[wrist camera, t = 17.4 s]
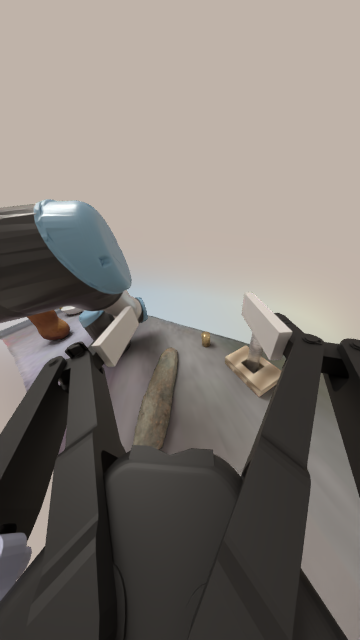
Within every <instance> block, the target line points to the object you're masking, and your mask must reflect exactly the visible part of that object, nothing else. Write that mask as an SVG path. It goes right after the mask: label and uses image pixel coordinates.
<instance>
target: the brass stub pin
mask: <svg viewBox="0 0 360 640" xmlns="http://www.w3.org/2000/svg"><path fill="white" fill-rule="evenodd" d="M201 335H202V345H203V346H204V347H209V346H210V333H209V332H203V333H202V334H201Z"/></svg>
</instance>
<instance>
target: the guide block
mask: <svg viewBox="0 0 360 640" xmlns="http://www.w3.org/2000/svg"><path fill="white" fill-rule="evenodd" d="M248 353H249V347H247V346H244V347H242V348H240V349H239V350H237V351H235V352H233V353H231V354H230V355H228V356H226V357H225V364H226V365H227V366H228V367H229V368H230V369H231V370H232V371H233V372H234V373H235V374H236V375H237V376H238V377H239V378H240V379H241V380H242V381H243V382H244V383H245V384H246V385H247V386H248V387H249V388H250V389H251V390H252V391H253V392H254V393H255V394H256V395H257V396H258V397H260V396H261V395H263V394H264V393H265V392H267V391H268V390H269V389H271V388H272V387H273V386H275V385H276V384H277V382H278V379H279V377H280V374H281V370H279V369H278V368H277V367H275V366H274V365H272V364H271V363H270V362H268V361H267V360H265V359H264V358H263V357H261V360H260V364H259V367H258V370H259V371H257V372H256V373H254V374H253V373H252V372H251V371H250V370H248V369H247V368H246V367H245V365H246V363H247V358H248Z"/></svg>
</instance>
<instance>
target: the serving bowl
mask: <svg viewBox="0 0 360 640" xmlns="http://www.w3.org/2000/svg"><path fill="white" fill-rule="evenodd" d="M61 310H62V311H63V312H64V313H66V314H76V313H80V312H82V311H84V310H81V309H78V308H75V307H72V306H66V307H63V308H62V309H61Z"/></svg>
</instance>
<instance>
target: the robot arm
mask: <svg viewBox="0 0 360 640" xmlns="http://www.w3.org/2000/svg"><path fill="white" fill-rule="evenodd" d="M130 286H131V275H130V272H129V268H128V265H127V263H126V260H125V258H124V256H123V253H122V251H121V249H120V247H119V246H118V243H117V241H116V239H115V237H114V235H113V233H112V231H111V230H110V228H109V226H108V225H107V223H106V222H105V220H104V219H103V217H102V216H101V215H100V214H99V213H98V211H97V210H95V209H94V208H93V207H92V206H90V205H89V204H87V203H84V202H80V201H54V200H43V201H41V202H38V203H36V204H30V205H21V206H13V207H3V208H0V323H3V322H7V321H11V320H15V319H20V318H24V317H27V316H32V315H35V314H39V313H43V312H47V311H51V310H55V309H58V308H62V307H66V306H72V307H75V308H78V309H81V310H85V311H84V312H82V313H81V315H80V316H79V321H80V322H81V324H82V326H83V328H85V330H86V331H87V332H88V334H89V335H90V336H91V338H92V339H93V340H94V341H93V343H92V344H91V345H90V346H89V347H88V348H87V347H86V346H85V344H84V343H83V342H77V343H74V344H72V345H71V346H69V347H68V348H67V349H66V350H65V353H66V354H67V355H68V356H69V357H70V358H69V359H66V360H65V359H64V358H63V357H62V356H58V357H55V358H53V359H52V360H50V361H49V362H47V363H46V364H45V365H44V367H43V368H42V370H41V372H40V373H39V375H38V376H37V378H36V379H35V381H34V383H33V384H32V386H31V387H30V389H29V390H28V392H27V393H26V395H25V397H24V398H23V400H22V401H21V403H20V404H19V406H18V407H17V409H16V411H15V412H14V414H13V415H12V417H11V418H10V420H9V421H8V423H7V425H6V426H5V428H4V429H3V431H2V433H1V434H0V640H348V639H347V637H346V636H345V634H344V633H343V631H342V630H341V628H340V627H339V625H338V624H337V622H336V621H335V619H334V618H333V616H332V615H331V613H330V612H329V610H328V609H327V607H326V606H325V604H324V603H323V601H322V600H321V598H320V596H319V595H318V593H317V592H316V590H315V589H314V587H313V586H312V584H311V583H310V581H309V580H308V578H307V577H306V575H305V574H304V572H303V571H302V569H301V560H302V552H303V544H304V536H305V528H306V520H307V512H308V504H309V496H310V486H311V479H310V474H309V472H308V470H307V461H308V454H309V448H310V441H311V434H312V427H313V421H314V414H315V407H316V401H317V394H318V387H319V381H320V374H321V373H323V375H324V379H325V382H326V386H327V389H328V392H329V396H330V399H331V402H332V406H333V409H334V412H335V416H336V419H337V423H338V426H339V429H340V433H341V436H342V439H343V443H344V446H345V449H346V453H347V456H348V460H349V463H350V466H351V470H352V473H353V476H354V480H355V483H356V487H357V490H358V493H359V497H360V340H356V339H344V340H342V341H341V343H340V344H334V343H327V342H324V341H323V340H322V339H320V338H318V337H317V336H314V335H311V334H305V333H303V332H302V331H301V330H300V329H299V328H298V327H296V325H294V324H293V323H292V322H291V321H290V320H289V319H288V318H287V317H286V316H284V315H282V314H280V313H273V312H272V311H271V310H270V309H269V308H268V307H267V306H266V305H265V304H264V303H263V302H262V301H261V300H260V299H259V298H258V297H257V296H255V294H254V293H252V292H248V293H245V294H244V300H243V308H242V316H243V317H244V319H245V321H246V322H247V324H248V326H249V327H250V329H251V330H252V332H253V334H254V335H255V337H256V339H257V340H258V342H259V343H260V345H261V347H262V348H263V350H264V352H265V353H266V355H267V356H268V358H269V360H281V358H282V356H283V355H284V356H285V357H286V361H285V363H284V365H283V367H282V368H283V369H282V371H281V374H280V377H279V379H278V382H277V384H276V387H275V390H274V392H273V395H272V397H271V400H270V403H269V405H268V408H267V411H266V413H265V416H264V418H263V421H262V424H261V426H260V429H259V431H258V434H257V437H256V439H255V442H254V445H253V447H252V450H251V452H250V454H249V457H248V459H247V462H246V464H245V467H244V469H243V472H242V474H241V477H240V476H239V474H238V473H237V472H236V471H235V470H234V469H233V468H232V467H231V465H229V464H228V463H227V462H226V461H225V460H223V459H222V458H220V457H218V456H216V455H214V454H213V450H210V449H194V448H191V449H188V450H185V451H182V452H179V453H175V454H172V455H169V454H166V453H164V452H162V451H160V450H158V449H156V448H154V447H152V446H144V445H132V448H131V451H129V452H127V453H126V452H125V449H124V448H123V446H122V444H121V442H120V438H119V433H118V429H117V425H116V420H115V416H114V411H113V407H112V402H111V398H110V394H109V389H108V385H107V380H106V376H105V371H104V368H103V367H102V365H103V364H104V363H105V364H106V366H107V367H115V365H116V364H117V362H118V360H119V358H120V357H121V355H122V354H123V353H124V352H126V351H127V349H128V348H129V346H130V339H131V337H132V336H133V334H134V332H135V330H136V329H137V327H138V325H139V323H142V322H144V321H146V320H147V319H148V316H147V311H146V308H145V305H144V302H143V300H142V298H140V297H138V298H134V297H131V296H130V295H129V293H128V292H127V289H129V288H130ZM58 381H59V382H60V383H61V384H60V386H59V385H58ZM66 426H67V432H66V446H65V450H64V451H63V452H62V453H60V454H59V455H58V452H59V449H60V446H61V442H62V439H63V436H64V432H65V429H66ZM57 456H58V457H57ZM53 469H54V473H53V482H52V491H51V501H50V510H49V519H48V527H47V535H46V544H45V547H44V548H43V549H42V550H41V552H40V553H39V554H38V555H37V557H36V558H35V559H34V561H33V562H32V563H31V564H30V565H29V566H28V568H27V569H26V567H27V565H28V563H29V560H30V557H31V553H32V551H31V547H29V546H28V547H26V545H27V540H28V538H29V536H30V534H31V531H32V529H33V527H34V524H35V522H36V519H37V517H38V514H39V512H40V510H41V507H42V504H43V501H44V497H45V495H46V492H47V489H48V485H49V482H50V479H51V475H52V472H53ZM25 569H26V570H25ZM24 570H25V571H24ZM23 572H24V573H23ZM22 573H23V574H22ZM19 577H20V578H19ZM18 578H19V579H18ZM17 579H18V580H17ZM16 580H17V581H16Z"/></svg>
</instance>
